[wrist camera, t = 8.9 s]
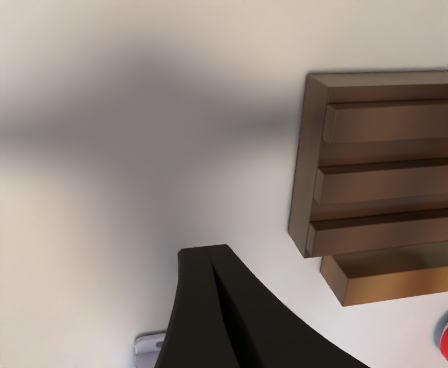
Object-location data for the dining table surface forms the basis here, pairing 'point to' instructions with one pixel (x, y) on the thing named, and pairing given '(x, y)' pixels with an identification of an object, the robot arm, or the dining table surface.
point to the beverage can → (444, 342)
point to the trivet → (371, 163)
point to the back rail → (387, 273)
